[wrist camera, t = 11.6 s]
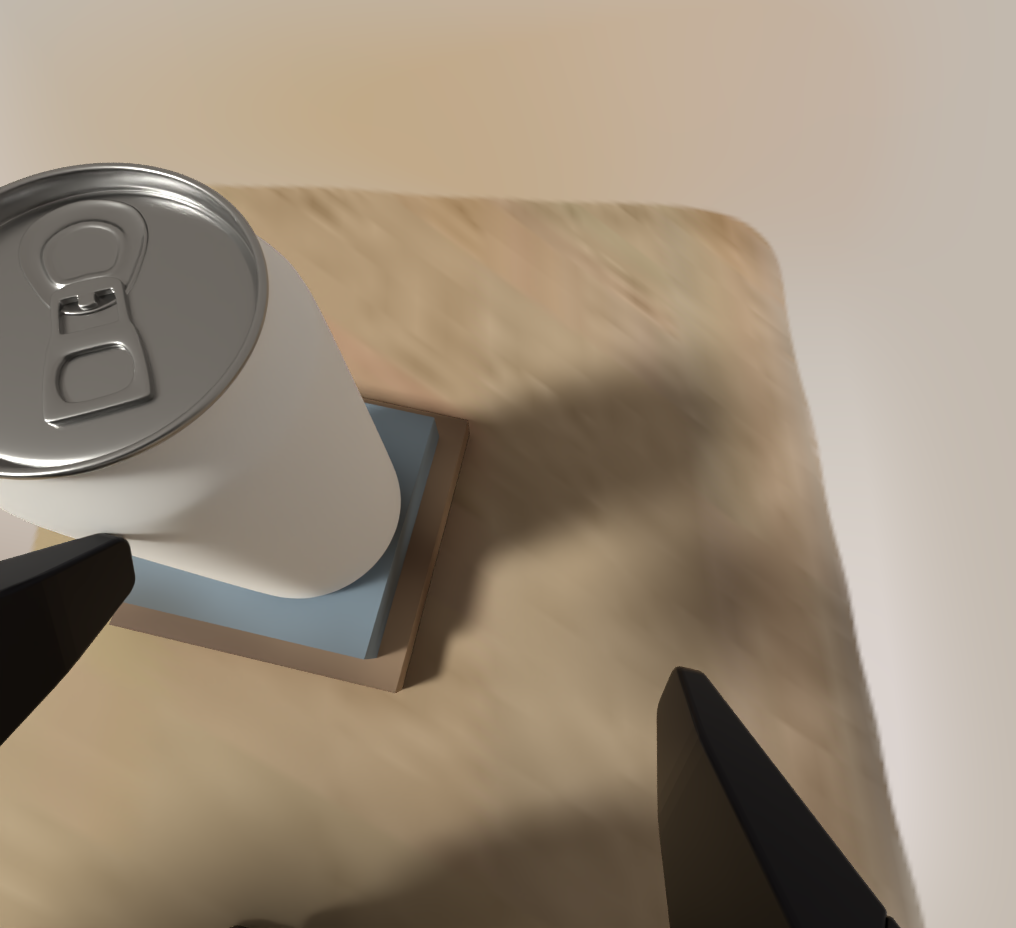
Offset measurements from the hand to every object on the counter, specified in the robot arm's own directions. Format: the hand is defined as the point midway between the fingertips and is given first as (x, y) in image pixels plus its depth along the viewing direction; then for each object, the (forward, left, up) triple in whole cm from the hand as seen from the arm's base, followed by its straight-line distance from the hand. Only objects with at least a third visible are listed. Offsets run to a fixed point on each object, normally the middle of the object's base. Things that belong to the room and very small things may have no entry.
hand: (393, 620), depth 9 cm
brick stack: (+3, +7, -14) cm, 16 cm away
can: (+3, +6, -10) cm, 12 cm away
